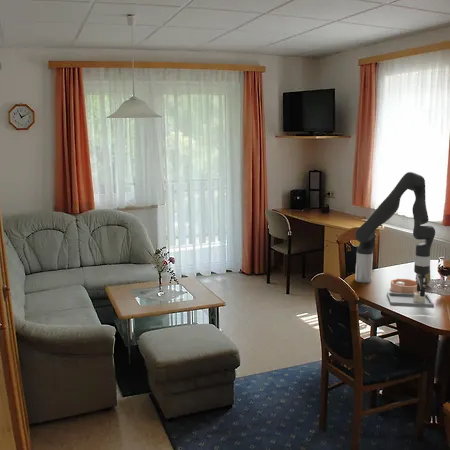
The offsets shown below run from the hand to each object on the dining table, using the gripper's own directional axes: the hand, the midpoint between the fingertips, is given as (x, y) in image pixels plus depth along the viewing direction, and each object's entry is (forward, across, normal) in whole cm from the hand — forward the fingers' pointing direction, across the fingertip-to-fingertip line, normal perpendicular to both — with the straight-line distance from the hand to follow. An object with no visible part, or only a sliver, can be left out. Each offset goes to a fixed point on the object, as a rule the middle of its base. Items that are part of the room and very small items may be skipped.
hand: (420, 293), depth 265 cm
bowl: (+4, -18, -5) cm, 19 cm away
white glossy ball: (+4, -18, -7) cm, 20 cm away
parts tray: (+5, 0, -5) cm, 7 cm away
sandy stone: (+4, 0, -1) cm, 4 cm away
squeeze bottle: (+5, -31, +7) cm, 32 cm away
